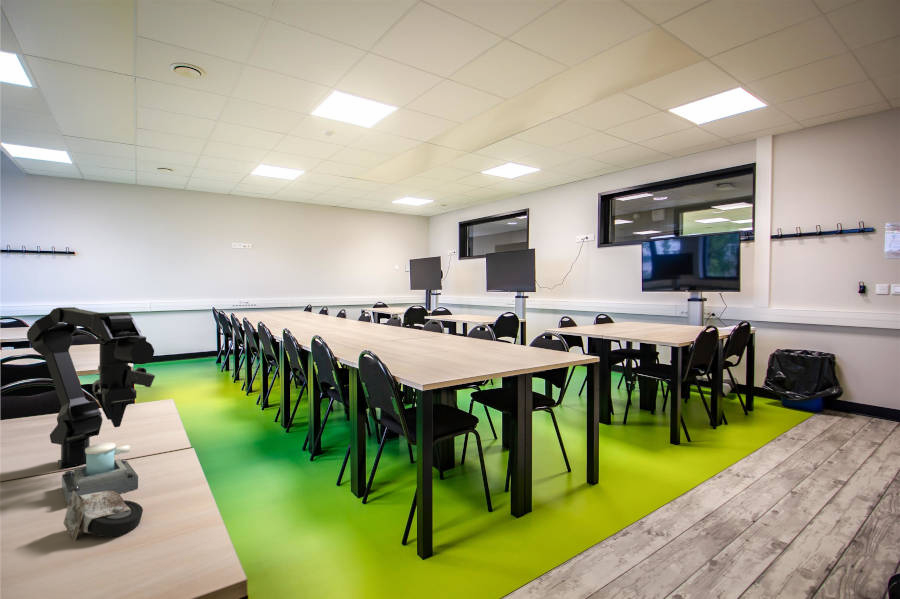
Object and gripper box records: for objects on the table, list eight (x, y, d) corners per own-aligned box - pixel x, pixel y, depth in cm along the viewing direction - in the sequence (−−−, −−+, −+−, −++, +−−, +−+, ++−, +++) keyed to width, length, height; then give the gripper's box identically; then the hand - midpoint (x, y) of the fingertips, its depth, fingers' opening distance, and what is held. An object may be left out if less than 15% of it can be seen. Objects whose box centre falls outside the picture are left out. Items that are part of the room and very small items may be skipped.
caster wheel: (143, 538, 83) (79, 557, 74) (121, 510, 89) (59, 524, 80) (153, 505, 83) (90, 520, 74) (130, 479, 89) (69, 490, 80)
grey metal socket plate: (61, 487, 98) (62, 468, 98) (126, 472, 107) (126, 454, 107) (68, 507, 89) (68, 485, 89) (138, 488, 98) (138, 469, 98)
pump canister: (83, 475, 98) (83, 446, 98) (126, 465, 104) (126, 438, 104) (87, 482, 94) (87, 452, 94) (131, 471, 100) (131, 443, 100)
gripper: (161, 362, 108) (160, 424, 108) (143, 355, 120) (143, 410, 120) (105, 367, 99) (104, 434, 100) (92, 359, 112) (92, 418, 112)
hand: (113, 423), depth 108 cm, fingers open, 9 cm apart
